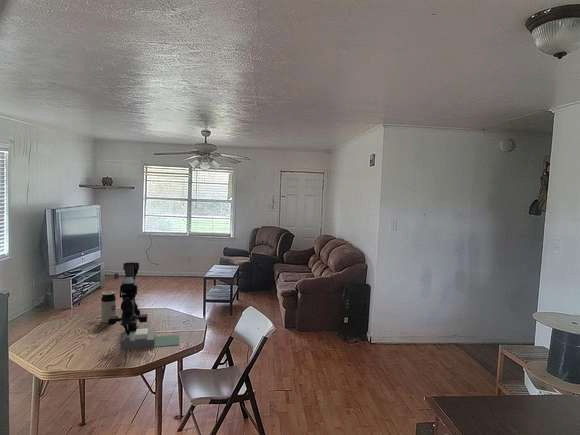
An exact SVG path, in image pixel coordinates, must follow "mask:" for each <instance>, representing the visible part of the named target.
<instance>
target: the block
mask: <svg viewBox="0 0 580 435" xmlns="http://www.w3.org/2000/svg"><path fill="white" fill-rule="evenodd" d="M148 331H149V328H137V330H135V332H136V333H135V340H136V339H147V337H148Z"/></svg>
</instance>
